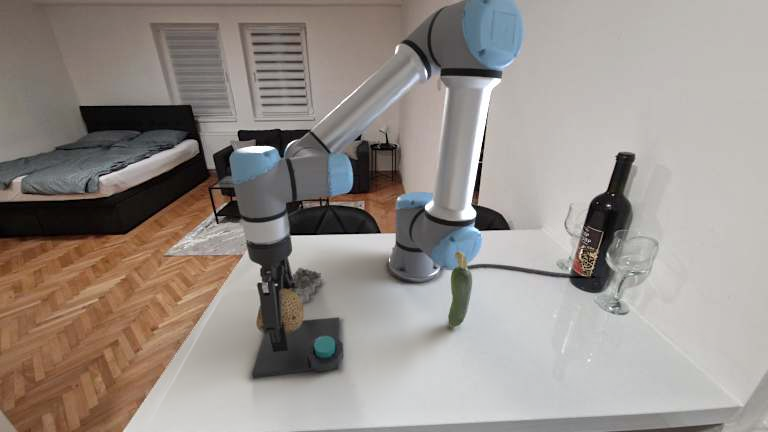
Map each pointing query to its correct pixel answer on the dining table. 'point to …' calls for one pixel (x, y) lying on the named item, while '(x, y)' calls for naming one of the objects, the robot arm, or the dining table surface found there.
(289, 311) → the natural sponge
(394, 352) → the dining table surface
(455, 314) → the vegetable
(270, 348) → the scale
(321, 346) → the tare button
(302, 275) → the grey rock
